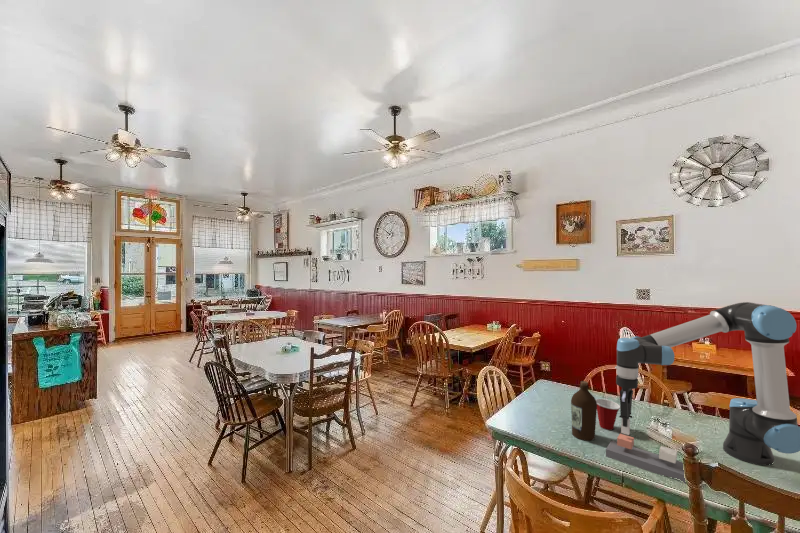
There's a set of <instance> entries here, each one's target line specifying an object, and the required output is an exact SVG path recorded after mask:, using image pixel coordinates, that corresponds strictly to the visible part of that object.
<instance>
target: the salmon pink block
mask: <svg viewBox="0 0 800 533" xmlns="http://www.w3.org/2000/svg"><path fill="white" fill-rule="evenodd" d="M616 440H617V441H616V442H617V445H618V446H621V447H625V448H628V449H632V448H633V447H635V446H634V445H635V437H632V436H629V435H627V434H623V433H619V434H618V435H617V437H616Z"/></svg>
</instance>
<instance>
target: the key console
mask: <svg viewBox="0 0 800 533" xmlns="http://www.w3.org/2000/svg"><path fill="white" fill-rule="evenodd" d="M605 457H607V458H609V459H613V460H615V461H618V462H622V463H623V464H624V463H625V464H627V465H630V466H633V467H635V468H639V469H643V470H644V471H648V472H651V473H654V474H656V473H657V474H656V475H659V474H660V476H662V475H664V476H663V477H665V476H668V477H672V478H677V479H680V480H681V481H683V482H684V483H683V484H686V482H685V478H684V470H683V463H682V462H683V461H680V460H677V459H676V463H672V462H669V461H666V460H662V459H659V453H658V454H657V453H654V452H651V451H648V450H645V449H641V448H638V447H635V446H633V448H632V449H628V448H625V447H621V446H618V445H617V441H616V440H613V439H612V440H611V441H610V442H609V444H608V445H607V447H606V448H605ZM668 477H667V478H668Z"/></svg>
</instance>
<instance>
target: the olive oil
mask: <svg viewBox="0 0 800 533" xmlns="http://www.w3.org/2000/svg"><path fill="white" fill-rule="evenodd" d="M595 399H596V398H595V397H594V395H593V394H592V393H591V392H590V391H589V382H588V381H585V380H581V381H580V384H579V389H578V390H577V391H576V392H575V393H573V394H572V396H571V399H570V409H571V434H572V435H573V437H574V438H576V439H578V440H581V441H587V442H590V441H591V442H592V441H594V440H595V439H596V423H597V414H598V413H597V402H596V400H595Z"/></svg>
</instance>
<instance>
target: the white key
mask: <svg viewBox="0 0 800 533" xmlns="http://www.w3.org/2000/svg"><path fill="white" fill-rule="evenodd" d="M658 455H659V459H662V460H666V461H669V462H672V463H676V460H677V459H678V450H676V449H673V448H670V447H666V446H665V445H660V447H659V450H658Z"/></svg>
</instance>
